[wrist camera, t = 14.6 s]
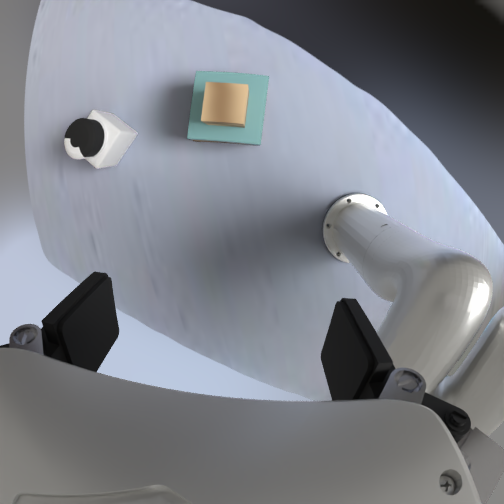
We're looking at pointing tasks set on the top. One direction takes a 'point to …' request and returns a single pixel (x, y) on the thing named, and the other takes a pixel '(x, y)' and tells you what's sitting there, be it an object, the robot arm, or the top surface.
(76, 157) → the medicine bottle
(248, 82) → the teal slab
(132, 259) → the top surface
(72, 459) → the robot arm
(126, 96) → the top surface
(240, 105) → the oak block
